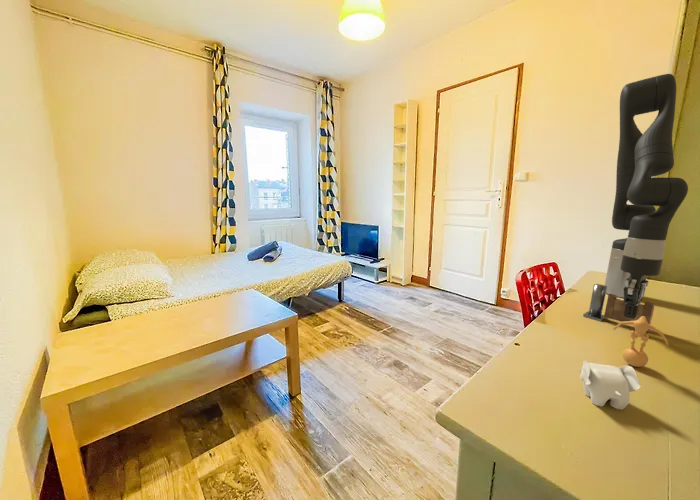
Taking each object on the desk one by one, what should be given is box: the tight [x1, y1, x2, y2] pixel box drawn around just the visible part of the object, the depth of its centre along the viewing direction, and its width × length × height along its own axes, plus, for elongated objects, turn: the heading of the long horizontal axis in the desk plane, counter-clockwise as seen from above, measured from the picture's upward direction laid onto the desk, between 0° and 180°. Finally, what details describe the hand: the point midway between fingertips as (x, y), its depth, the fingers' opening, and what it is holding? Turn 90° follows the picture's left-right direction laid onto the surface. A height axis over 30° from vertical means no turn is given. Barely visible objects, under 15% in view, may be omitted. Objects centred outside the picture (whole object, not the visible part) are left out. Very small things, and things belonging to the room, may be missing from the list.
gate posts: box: [583, 283, 656, 334], centre depth 84 cm, size 6×15×10 cm, turn 36°
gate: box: [603, 294, 655, 323], centre depth 82 cm, size 9×2×7 cm, turn 37°
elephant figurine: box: [578, 359, 642, 411], centre depth 53 cm, size 8×10×7 cm
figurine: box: [612, 316, 669, 368], centre depth 62 cm, size 8×6×12 cm
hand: (629, 317), depth 80 cm, fingers closed
